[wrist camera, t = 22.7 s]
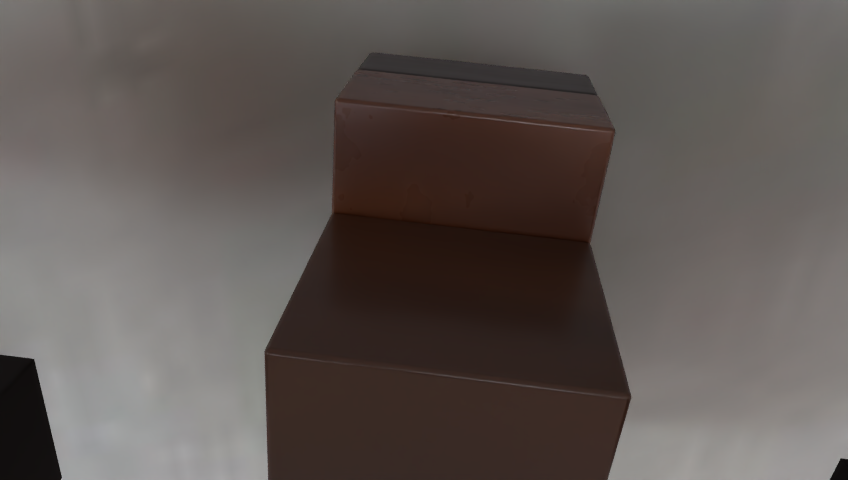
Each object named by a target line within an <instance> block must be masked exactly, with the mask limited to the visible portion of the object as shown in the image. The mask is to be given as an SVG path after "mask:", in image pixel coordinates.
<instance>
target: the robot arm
mask: <svg viewBox="0 0 848 480" xmlns="http://www.w3.org/2000/svg"><path fill="white" fill-rule="evenodd" d="M61 478H62V476H61V472H60V468H59V463H58V459H57V455H56V451H55V446H54V442H53V438H52V434H51V429H50V425H49V421H48V416H47V412H46V408H45V404H44V399H43V395H42V391H41V387H40V382H39V378H38V374H37V370H36V365H35V361H34V359H30V358H22V357H14V356H6V355H0V480H61ZM830 480H848V459H840V461H839V463H838V465H837V467H836V469H835V471H834V473H833V475H832V477H831V479H830Z"/></svg>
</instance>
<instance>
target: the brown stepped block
mask: <svg viewBox="0 0 848 480" xmlns="http://www.w3.org/2000/svg"><path fill="white" fill-rule="evenodd" d="M614 136H615V129H614V127H613V125H612V122H611V120H610V118H609V116H608V114H607V112H606V110H605V108H604V106H603V104H602V102H601V100H600V98H599V97H598V96H597V93H596V91H595V89H594V87H593V85H592V83H591V81H590V79H589V77H588V76H586V75H581V74H571V73H562V72H553V71H543V70H534V69H524V68H515V67H506V66H496V65H487V64H478V63H468V62H459V61H449V60H440V59H431V58H421V57H412V56H403V55H393V54H384V53H374V52H372V53H369V55H368V56H367V58H366V59H365V60H364V62H363V63H362V64H361V66H360V67H359V69H358V70H357V71H356V72H355V73H354V75H353V76H352V77H351V79H350V80H349V81H348V83H347V84H346V86H345V87H344V88H343V90H342V91H341V92H340V94H339V95H338V96H337V98H336V100H335V109H334V150H333V190H332V215H331V217H330V219H329V221H328V223H327V225H326V227H325V229H324V231H323V233H322V235H321V237H320V239H319V241H318V243H317V245H316V247H315V249H314V251H313V253H312V255H311V257H310V259H309V261H308V263H307V265H306V268H305V270H304V272H303V274H302V276H301V278H300V280H299V282H298V284H297V286H296V288H295V290H294V292H293V294H292V296H291V298H290V300H289V302H288V304H287V306H286V308H285V310H284V312H283V314H282V317H281V319H280V321H279V323H278V325H277V327H276V329H275V331H274V333H273V335H272V337H271V339H270V341H269V343H268V345H267V347H266V349H265V351H264V352H265V386H266V420H267V454H268V480H607V479H608V476H609V473H610V469H611V466H612V462H613V459H614V455H615V452H616V449H617V445H618V442H619V438H620V435H621V431H622V428H623V424H624V421H625V418H626V414H627V411H628V407H629V404H630V400H631V393H630V389H629V386H628V382H627V378H626V375H625V371H624V367H623V363H622V360H621V356H620V352H619V348H618V345H617V341H616V337H615V334H614V330H613V326H612V322H611V319H610V315H609V311H608V307H607V304H606V300H605V296H604V293H603V289H602V285H601V281H600V278H599V274H598V270H597V266H596V263H595V259H594V255H593V252H592V248H591V245H590V243H591V238H592V234H593V229H594V225H595V220H596V216H597V212H598V207H599V203H600V198H601V194H602V189H603V185H604V180H605V176H606V172H607V167H608V163H609V158H610V154H611V149H612V145H613V140H614Z"/></svg>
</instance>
